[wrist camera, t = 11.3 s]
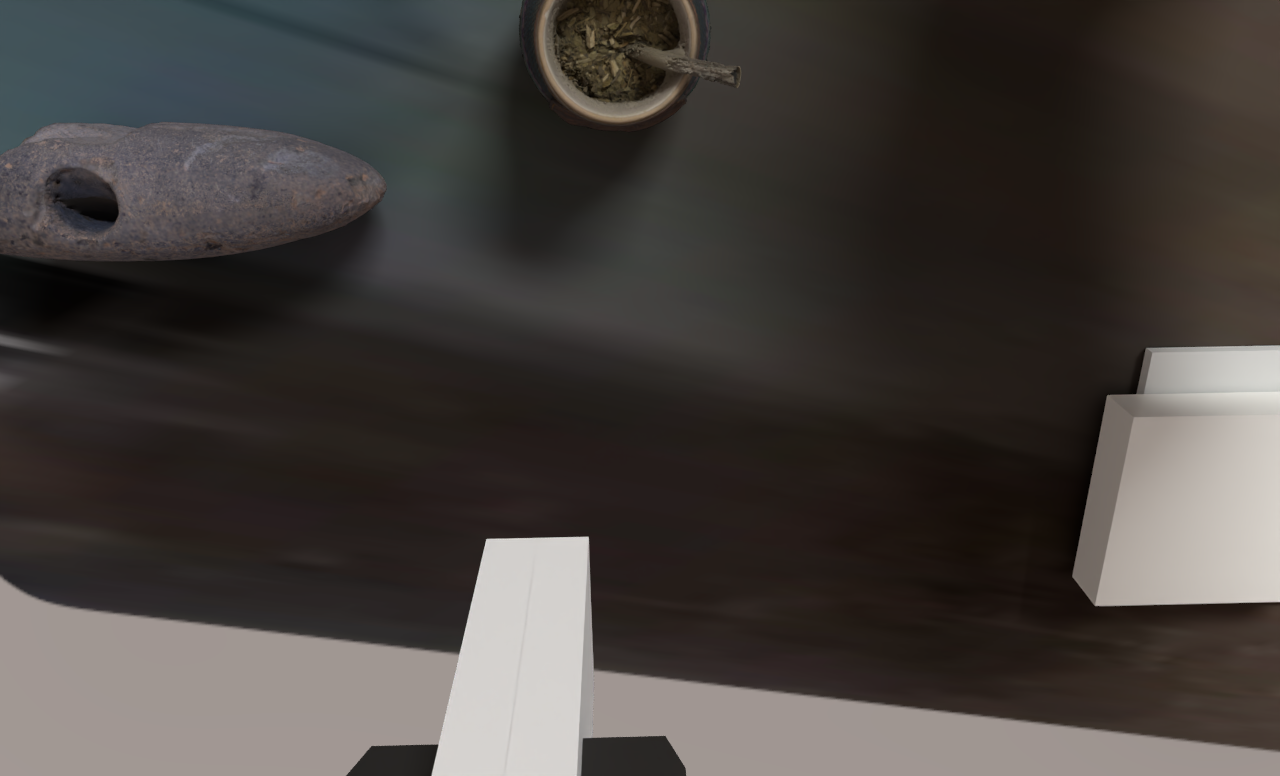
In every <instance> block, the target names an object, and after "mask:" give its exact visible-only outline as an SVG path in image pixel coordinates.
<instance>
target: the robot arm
mask: <svg viewBox="0 0 1280 776" xmlns="http://www.w3.org/2000/svg"><path fill="white" fill-rule="evenodd" d="M593 701H594V671H593V644H592V617H591V590H590V562H589V537H561V538H515V539H486V543H485V548H484V552H483V556H482V561H481V565H480V569H479V574H478V578H477V582H476V586H475V591H474V595H473V599H472V604H471V608H470V612H469V617H468V621H467V625H466V629H465V634H464V638H463V642H462V647H461V651H460V655H459V660H458V664H457V669H456V672H455V677H454V681H453V685H452V690H451V694H450V698H449V703H448V707H447V712H446V715H445V720H444V724H443V728H442V733H441V737H440V742H439V745H402V746H401V745H400V746H371V748H370V749H369V750H368V751H367V752H366V753H365V755H364V756H363V757H362V758H361V759H360V761H358V763H357V764H356V765H355V766H354V767H353V769H352V770H351V771H350V772H349V773H348V774H347V776H686V770H685V767H684V765H683V763H682V762H681V760H680V759H679V757H678V756H677V754H676V752H675V751H674V749H673V748H672V746H671V744H670V743H669V741H668V740H667V738H666V736H648V737H611V738H610V737H609V738H592V733H593V703H594V702H593Z"/></svg>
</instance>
